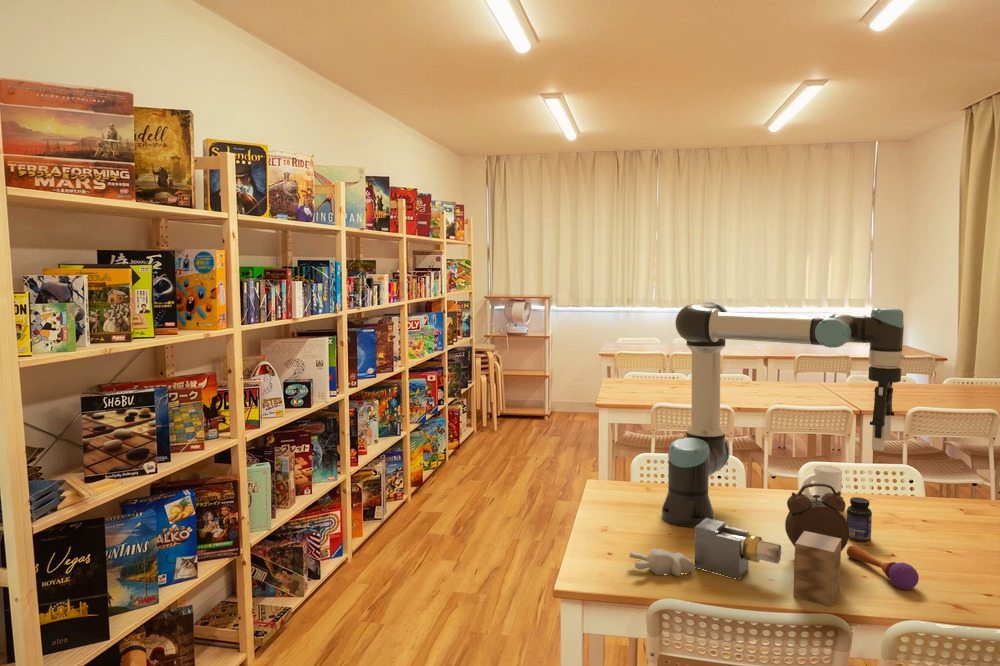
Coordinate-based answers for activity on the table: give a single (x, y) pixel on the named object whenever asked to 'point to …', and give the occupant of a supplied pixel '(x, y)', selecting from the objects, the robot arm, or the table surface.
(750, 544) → the tube
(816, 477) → the mug
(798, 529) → the alarm clock
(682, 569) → the bunny figurine
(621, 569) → the table surface
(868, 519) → the pill bottle
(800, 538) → the socket block
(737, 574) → the square shaft housing
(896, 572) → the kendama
